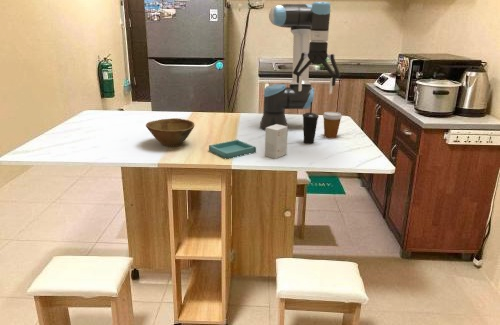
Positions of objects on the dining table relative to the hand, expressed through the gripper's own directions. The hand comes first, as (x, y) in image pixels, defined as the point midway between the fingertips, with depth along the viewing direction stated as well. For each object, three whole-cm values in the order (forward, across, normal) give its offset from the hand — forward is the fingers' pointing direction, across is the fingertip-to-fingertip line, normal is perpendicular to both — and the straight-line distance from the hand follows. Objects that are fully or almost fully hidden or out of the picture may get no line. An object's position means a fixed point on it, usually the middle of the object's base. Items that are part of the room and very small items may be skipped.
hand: (315, 92), depth 177 cm
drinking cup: (+27, -4, +13) cm, 31 cm away
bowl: (+27, -64, -17) cm, 71 cm away
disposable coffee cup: (+27, +4, +28) cm, 39 cm away
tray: (+27, -33, -15) cm, 45 cm away
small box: (+27, -13, -12) cm, 33 cm away
